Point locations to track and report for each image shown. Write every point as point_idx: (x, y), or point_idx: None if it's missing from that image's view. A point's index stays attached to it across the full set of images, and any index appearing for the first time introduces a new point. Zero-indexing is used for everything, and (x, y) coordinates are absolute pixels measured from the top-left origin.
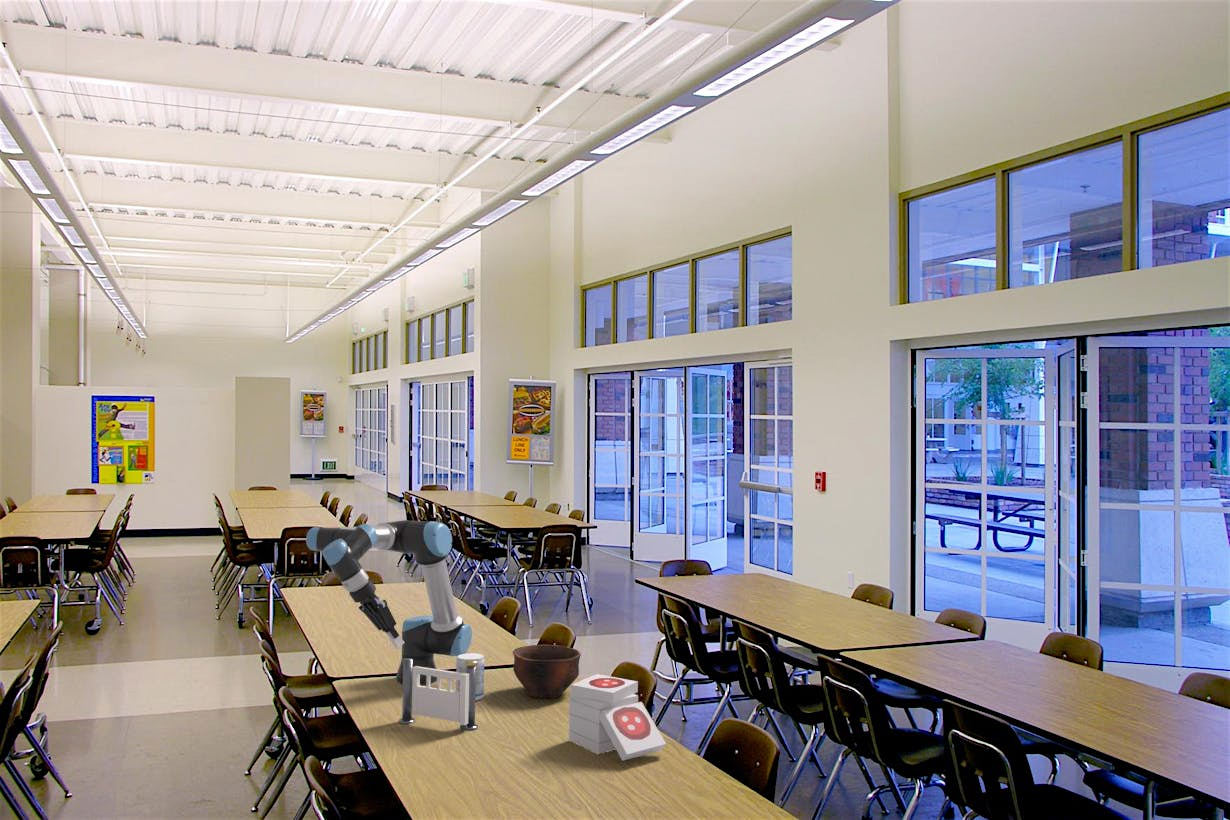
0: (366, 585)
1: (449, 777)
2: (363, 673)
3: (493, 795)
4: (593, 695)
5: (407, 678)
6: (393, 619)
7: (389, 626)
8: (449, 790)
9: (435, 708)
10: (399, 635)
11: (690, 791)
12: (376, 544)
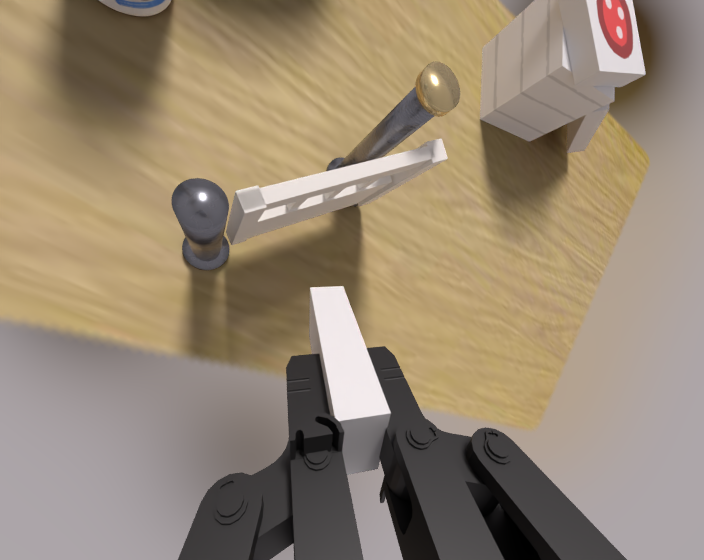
0: None
1: (491, 347)
2: None
3: (549, 332)
4: (611, 81)
5: (221, 236)
6: (575, 518)
7: (493, 517)
8: (519, 369)
9: (307, 216)
10: (358, 329)
11: (616, 170)
12: None
